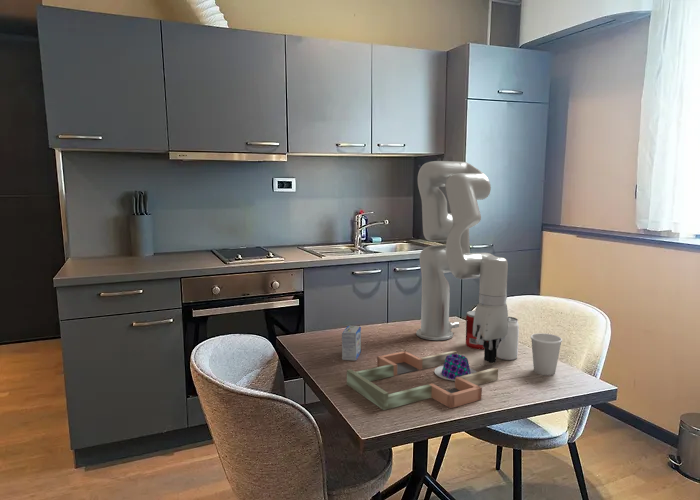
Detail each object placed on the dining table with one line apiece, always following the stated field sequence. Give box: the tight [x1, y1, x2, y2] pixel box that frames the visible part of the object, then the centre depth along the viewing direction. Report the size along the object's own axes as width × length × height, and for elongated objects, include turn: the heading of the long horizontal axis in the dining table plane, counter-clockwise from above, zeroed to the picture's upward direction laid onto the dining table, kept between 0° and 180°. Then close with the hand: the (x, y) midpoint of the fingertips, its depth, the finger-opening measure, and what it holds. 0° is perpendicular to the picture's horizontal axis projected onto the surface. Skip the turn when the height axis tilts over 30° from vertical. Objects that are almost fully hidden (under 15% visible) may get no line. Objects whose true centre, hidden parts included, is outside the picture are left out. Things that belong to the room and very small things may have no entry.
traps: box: [376, 350, 483, 409], centre depth 134 cm, size 10×31×3 cm, turn 30°
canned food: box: [465, 310, 485, 350], centre depth 163 cm, size 8×8×11 cm
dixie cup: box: [530, 332, 563, 376], centre depth 141 cm, size 8×8×10 cm
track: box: [346, 350, 499, 411], centre depth 134 cm, size 37×17×4 cm, turn 120°
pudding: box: [434, 353, 478, 382], centre depth 139 cm, size 12×12×5 cm
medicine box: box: [341, 325, 362, 362], centre depth 153 cm, size 8×4×9 cm, turn 168°
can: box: [496, 316, 520, 361], centre depth 153 cm, size 6×6×12 cm
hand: (490, 361), depth 146 cm, fingers closed
